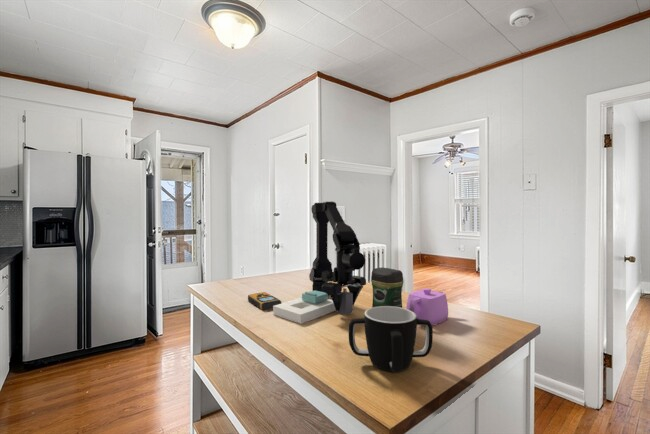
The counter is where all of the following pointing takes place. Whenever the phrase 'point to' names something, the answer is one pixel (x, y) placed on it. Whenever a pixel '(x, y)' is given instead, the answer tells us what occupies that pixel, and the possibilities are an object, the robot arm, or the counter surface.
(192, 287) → the counter surface
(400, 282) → the coffee jar
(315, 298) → the block
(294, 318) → the socket plate
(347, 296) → the plug
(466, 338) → the counter surface
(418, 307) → the teapot
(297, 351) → the counter surface
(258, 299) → the electronic device
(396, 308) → the mug
